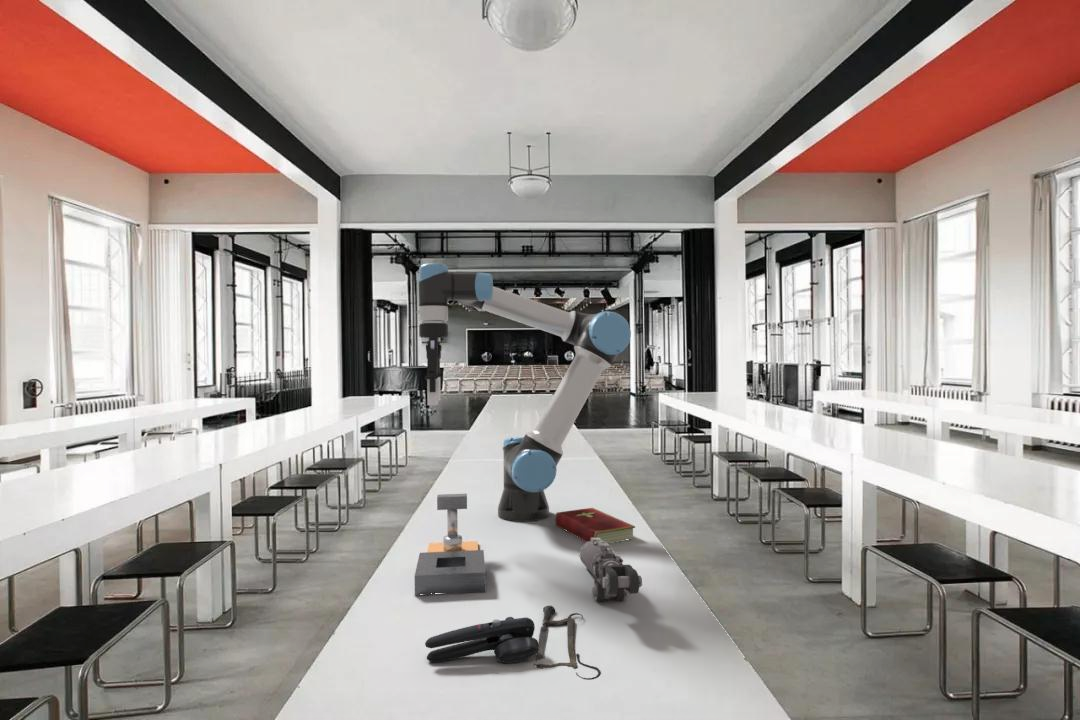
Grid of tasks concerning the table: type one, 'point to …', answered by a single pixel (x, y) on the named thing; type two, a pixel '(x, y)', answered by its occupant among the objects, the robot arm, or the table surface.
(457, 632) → the can opener
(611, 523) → the hardcover book
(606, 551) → the hydraulic cylinder
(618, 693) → the table surface
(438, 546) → the key mat
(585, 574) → the table surface
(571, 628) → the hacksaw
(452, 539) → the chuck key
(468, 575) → the block
